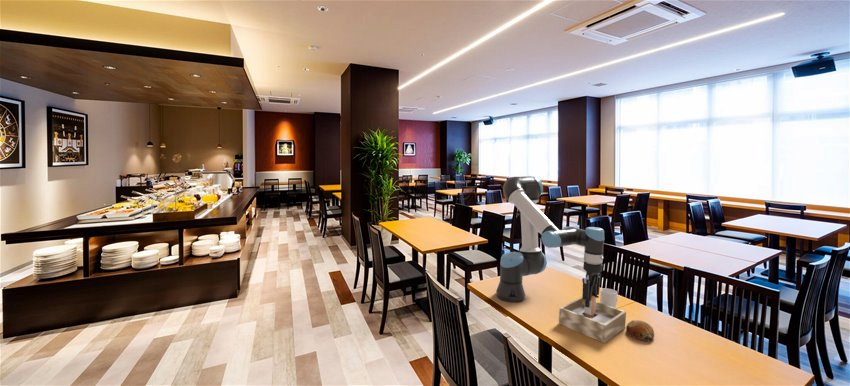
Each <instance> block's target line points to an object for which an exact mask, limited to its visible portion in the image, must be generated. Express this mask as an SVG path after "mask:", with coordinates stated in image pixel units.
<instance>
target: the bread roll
mask: <svg viewBox="0 0 850 386" xmlns="http://www.w3.org/2000/svg"><path fill="white" fill-rule="evenodd" d="M625 328H626V329H625V331H626V333H627V334H628V335H629V336H630V337H631V338H633V339H636V340H639V341H643V342H650V341H652V340H653V339H654V337H655V331H654V328H653V326H651V324H650V323H648V322H646V321H644V320H640V319H639V320H638V319H633V320H631V321H629V322H628V323H626V325H625Z"/></svg>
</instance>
